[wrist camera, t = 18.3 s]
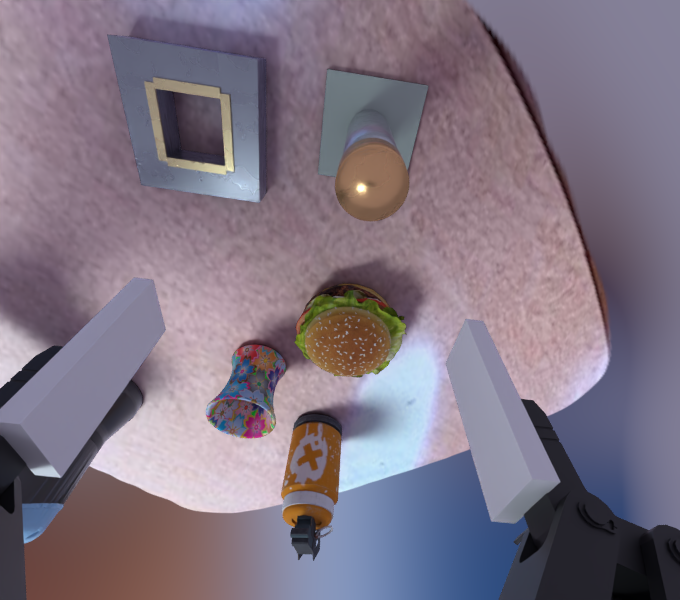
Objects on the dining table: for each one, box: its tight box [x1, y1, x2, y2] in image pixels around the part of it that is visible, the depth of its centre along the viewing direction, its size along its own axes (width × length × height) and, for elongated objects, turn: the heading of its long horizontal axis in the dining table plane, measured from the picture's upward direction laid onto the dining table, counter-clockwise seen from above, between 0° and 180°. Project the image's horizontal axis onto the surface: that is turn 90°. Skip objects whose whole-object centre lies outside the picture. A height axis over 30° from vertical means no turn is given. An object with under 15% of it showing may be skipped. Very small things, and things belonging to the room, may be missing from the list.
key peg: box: [335, 109, 409, 221], centre depth 25 cm, size 4×4×16 cm
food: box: [295, 284, 407, 377], centre depth 43 cm, size 14×14×8 cm
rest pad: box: [318, 69, 428, 177], centre depth 32 cm, size 9×9×1 cm
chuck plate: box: [107, 35, 266, 203], centre depth 31 cm, size 12×12×3 cm
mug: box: [206, 345, 286, 438], centre depth 49 cm, size 12×9×11 cm
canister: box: [281, 414, 342, 561], centre depth 55 cm, size 9×11×20 cm
